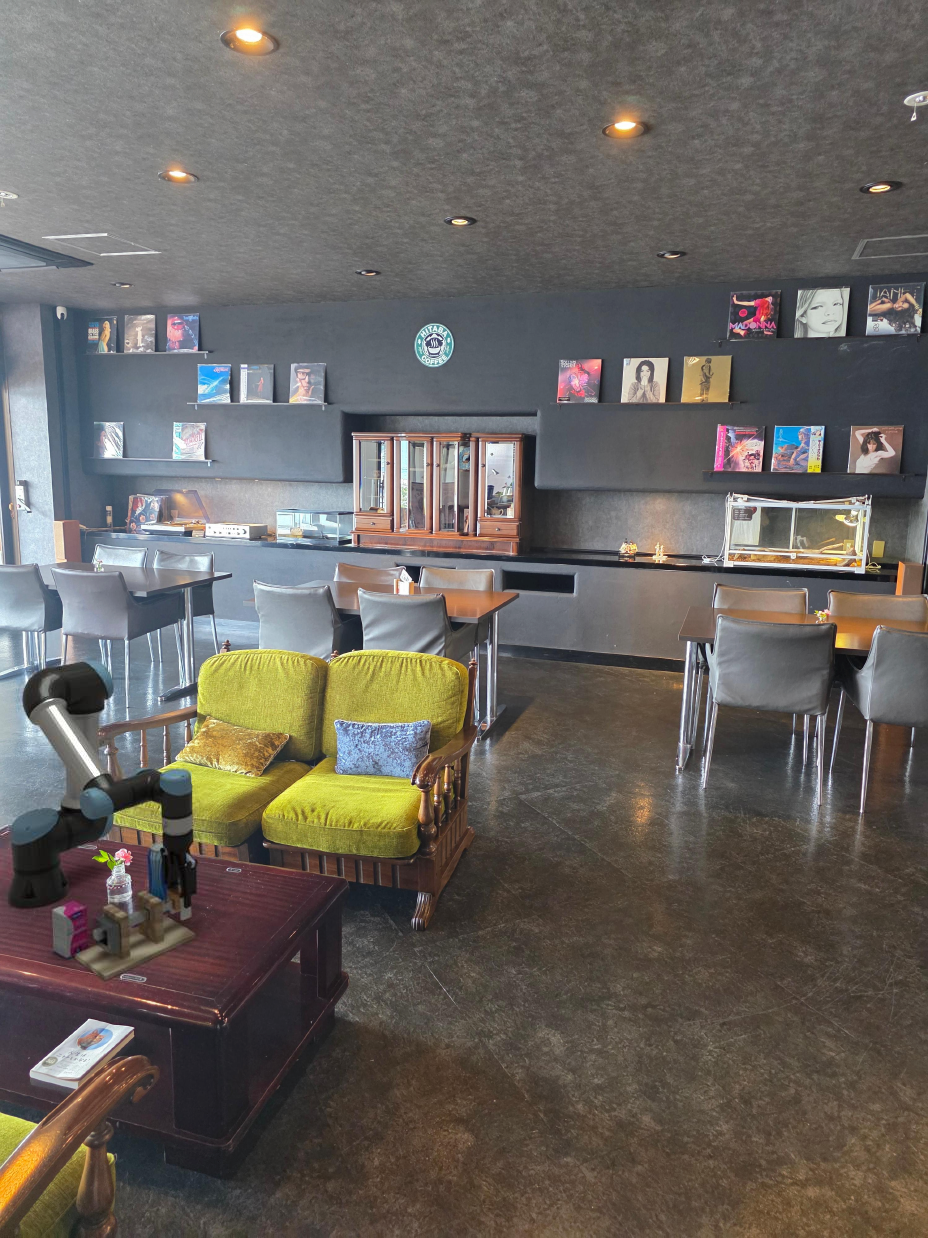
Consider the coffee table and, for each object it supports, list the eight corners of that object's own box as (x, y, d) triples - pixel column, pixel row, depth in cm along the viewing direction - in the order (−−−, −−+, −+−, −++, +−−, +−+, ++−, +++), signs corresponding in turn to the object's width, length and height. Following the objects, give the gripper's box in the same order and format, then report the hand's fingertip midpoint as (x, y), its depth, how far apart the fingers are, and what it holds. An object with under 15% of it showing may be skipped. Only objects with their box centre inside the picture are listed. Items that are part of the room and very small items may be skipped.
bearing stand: (75, 959, 198) (72, 913, 196) (164, 919, 217) (162, 877, 215) (105, 981, 189) (103, 933, 188) (195, 938, 208) (194, 894, 206)
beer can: (171, 909, 222) (169, 854, 219) (143, 905, 224) (140, 850, 221) (187, 894, 230) (185, 841, 227) (160, 891, 232) (158, 837, 229)
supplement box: (67, 960, 197) (64, 916, 195) (53, 953, 200) (50, 909, 198) (89, 949, 202) (87, 906, 200) (75, 942, 205) (72, 899, 203)
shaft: (91, 938, 195) (90, 921, 194) (177, 901, 213) (176, 885, 213) (100, 944, 193) (99, 926, 192) (186, 906, 211) (185, 890, 210)
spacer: (96, 944, 198) (94, 917, 197) (105, 940, 200) (104, 914, 199) (111, 955, 194) (109, 927, 193) (120, 950, 196) (119, 923, 194)
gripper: (145, 825, 211) (149, 909, 214) (184, 844, 200) (186, 932, 204) (171, 817, 217) (174, 899, 220) (210, 834, 206) (212, 920, 210)
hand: (180, 915), depth 212 cm, fingers closed on shaft, 4 cm apart
